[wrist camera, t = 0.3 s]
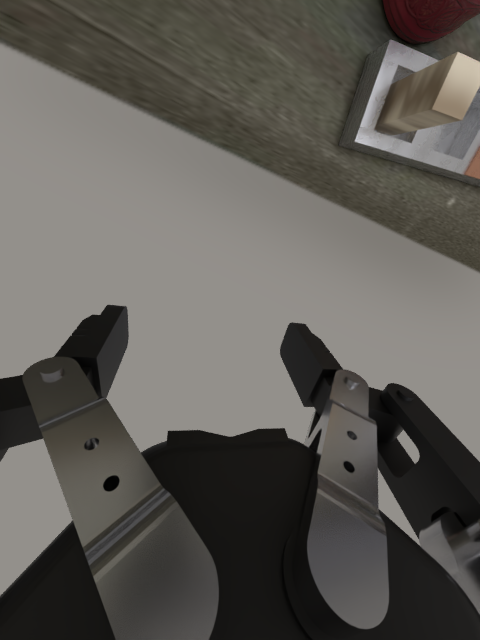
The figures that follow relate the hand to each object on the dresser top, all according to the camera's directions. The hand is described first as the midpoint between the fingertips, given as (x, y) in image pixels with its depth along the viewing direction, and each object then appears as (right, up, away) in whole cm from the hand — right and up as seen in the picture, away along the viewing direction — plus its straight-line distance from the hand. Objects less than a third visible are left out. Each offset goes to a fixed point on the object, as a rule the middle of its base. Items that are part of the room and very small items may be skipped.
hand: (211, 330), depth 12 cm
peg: (+21, +28, +19) cm, 40 cm away
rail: (+30, +28, +22) cm, 46 cm away
